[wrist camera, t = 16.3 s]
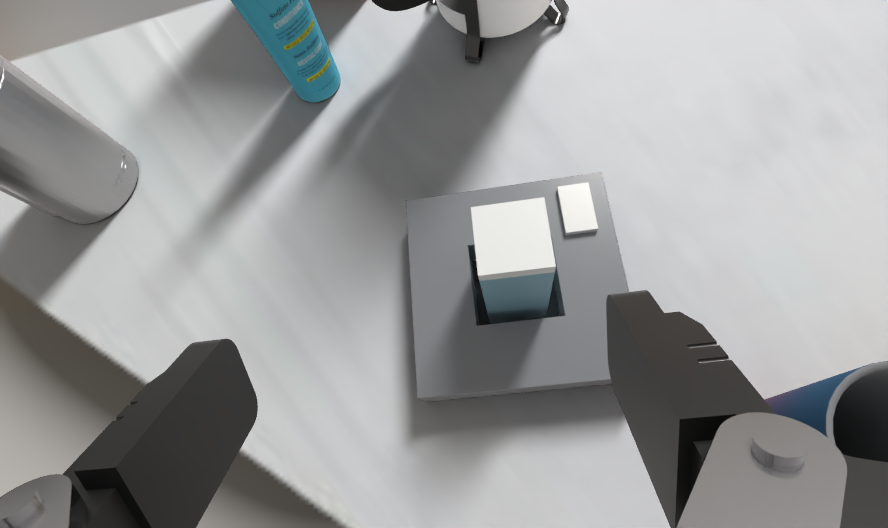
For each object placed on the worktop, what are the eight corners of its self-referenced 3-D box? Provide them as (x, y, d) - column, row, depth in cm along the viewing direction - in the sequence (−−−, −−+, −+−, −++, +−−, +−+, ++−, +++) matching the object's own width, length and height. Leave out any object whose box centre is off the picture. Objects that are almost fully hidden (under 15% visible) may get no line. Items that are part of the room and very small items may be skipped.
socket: (426, 401, 38) (415, 397, 34) (414, 218, 44) (404, 197, 40) (636, 381, 36) (649, 374, 33) (595, 193, 42) (602, 168, 38)
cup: (806, 401, 34) (1001, 371, 20) (816, 507, 32) (1040, 555, 18) (702, 387, 36) (818, 351, 22) (704, 488, 33) (834, 520, 19)
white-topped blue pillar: (490, 323, 40) (477, 275, 28) (484, 271, 41) (470, 207, 30) (546, 316, 39) (555, 266, 28) (538, 264, 41) (544, 197, 30)
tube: (313, 119, 49) (196, -64, 32) (280, 100, 51) (150, -85, 33) (358, 67, 51) (270, -136, 33) (324, 50, 52) (223, -153, 35)
